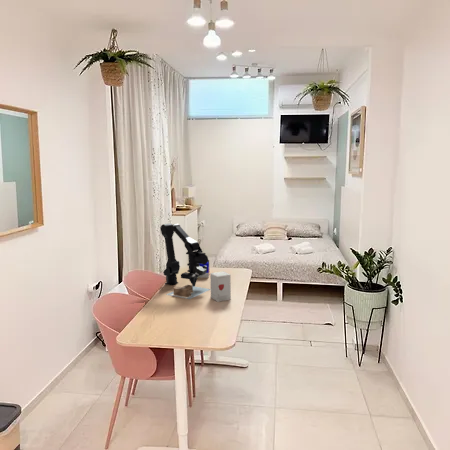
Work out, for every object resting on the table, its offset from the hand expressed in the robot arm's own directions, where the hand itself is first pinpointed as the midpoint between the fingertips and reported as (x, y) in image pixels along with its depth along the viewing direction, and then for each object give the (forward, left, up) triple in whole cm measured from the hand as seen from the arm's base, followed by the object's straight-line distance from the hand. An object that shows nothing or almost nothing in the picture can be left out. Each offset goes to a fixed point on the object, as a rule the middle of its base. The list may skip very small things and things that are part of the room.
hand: (193, 286), depth 269 cm
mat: (0, -5, -2) cm, 6 cm away
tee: (0, -9, -2) cm, 9 cm away
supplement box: (+24, -6, -2) cm, 25 cm away
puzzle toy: (-15, +30, -2) cm, 33 cm away
